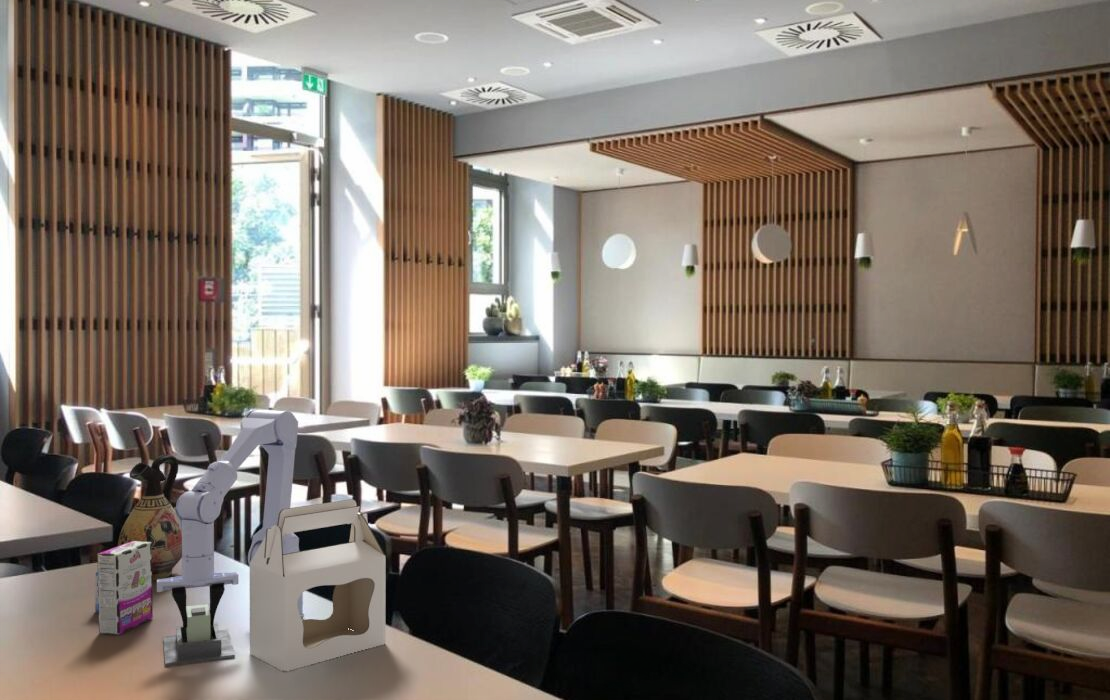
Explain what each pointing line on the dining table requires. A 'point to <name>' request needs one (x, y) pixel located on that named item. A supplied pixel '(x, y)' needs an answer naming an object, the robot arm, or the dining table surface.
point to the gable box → (289, 575)
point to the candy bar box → (124, 587)
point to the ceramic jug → (155, 517)
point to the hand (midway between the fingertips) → (198, 624)
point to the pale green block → (198, 623)
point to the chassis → (197, 647)
